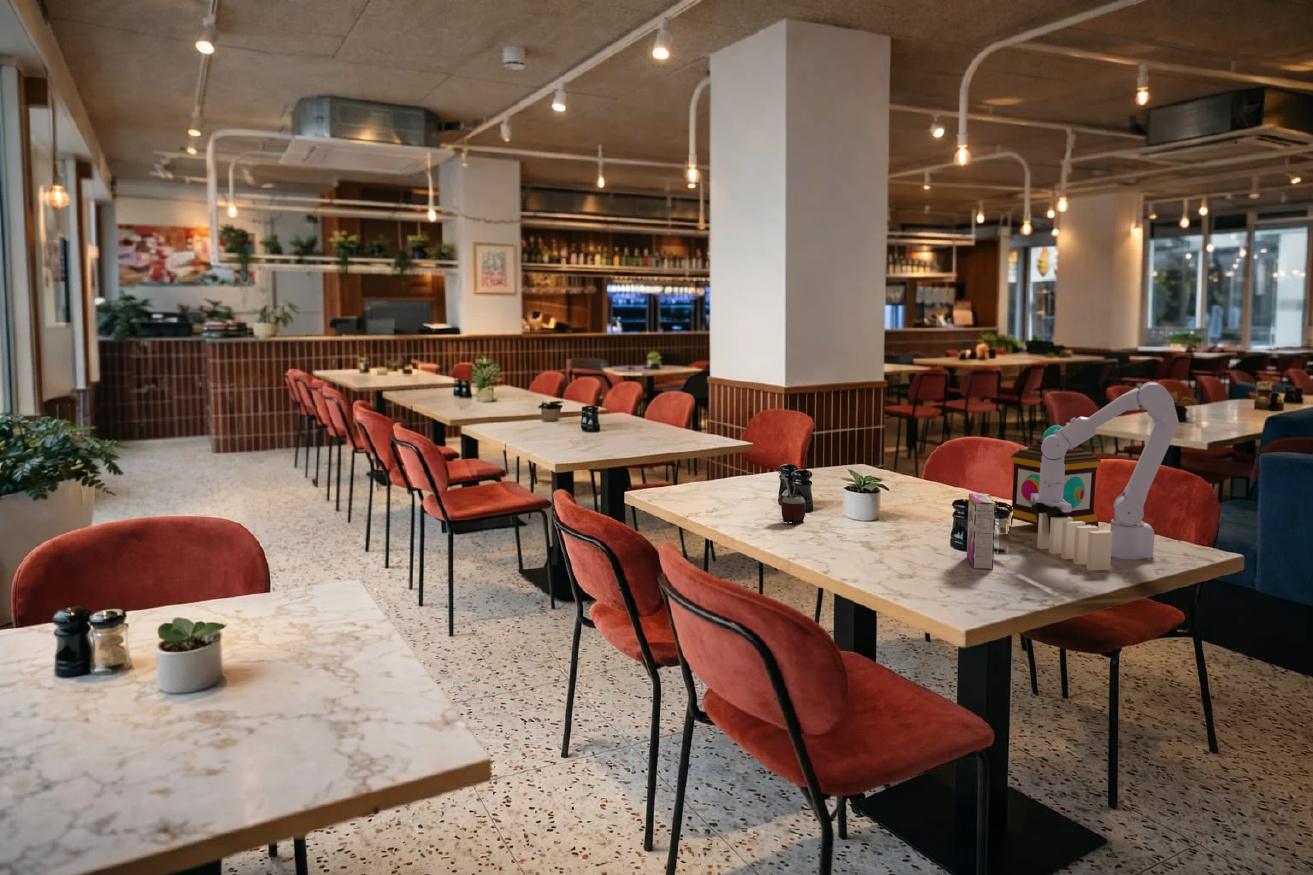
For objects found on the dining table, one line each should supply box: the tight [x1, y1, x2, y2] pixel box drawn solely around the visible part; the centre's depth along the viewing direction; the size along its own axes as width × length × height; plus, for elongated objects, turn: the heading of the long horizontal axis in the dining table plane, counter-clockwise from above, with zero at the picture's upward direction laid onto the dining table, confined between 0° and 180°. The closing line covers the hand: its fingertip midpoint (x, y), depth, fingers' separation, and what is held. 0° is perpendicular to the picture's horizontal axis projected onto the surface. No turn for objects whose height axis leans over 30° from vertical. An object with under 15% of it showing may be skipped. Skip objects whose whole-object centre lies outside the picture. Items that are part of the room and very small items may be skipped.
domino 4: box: [1073, 525, 1100, 565], centre depth 213 cm, size 2×5×9 cm, turn 99°
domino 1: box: [1036, 513, 1050, 549], centre depth 228 cm, size 2×5×9 cm, turn 97°
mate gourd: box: [777, 470, 807, 526], centre depth 259 cm, size 8×8×15 cm
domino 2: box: [1049, 517, 1073, 554], centre depth 223 cm, size 2×5×9 cm, turn 99°
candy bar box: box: [966, 492, 997, 570], centre depth 216 cm, size 11×5×16 cm, turn 168°
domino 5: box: [1086, 530, 1113, 571], centre depth 208 cm, size 2×5×9 cm, turn 99°
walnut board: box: [1025, 544, 1124, 575], centre depth 218 cm, size 9×26×1 cm, turn 9°
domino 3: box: [1061, 521, 1086, 559], centre depth 218 cm, size 2×5×9 cm, turn 99°
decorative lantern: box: [1010, 424, 1102, 527], centre depth 249 cm, size 20×20×30 cm
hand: (1048, 534), depth 228 cm, fingers open, 4 cm apart
